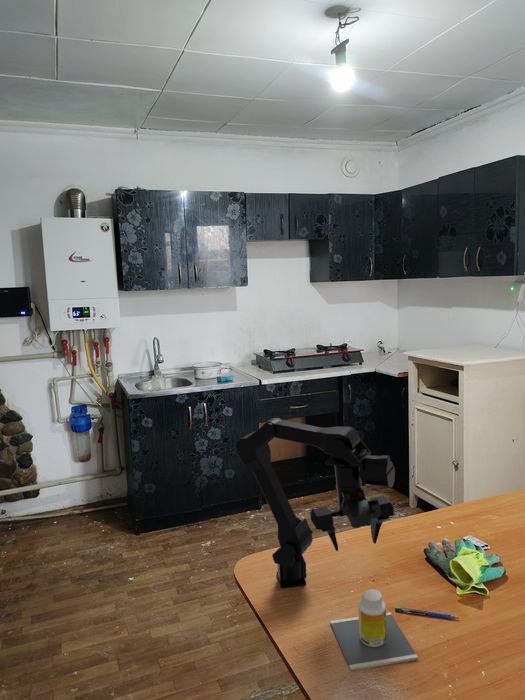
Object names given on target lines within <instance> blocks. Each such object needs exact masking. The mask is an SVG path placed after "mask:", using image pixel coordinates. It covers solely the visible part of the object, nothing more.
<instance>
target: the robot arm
mask: <svg viewBox="0 0 525 700" xmlns="http://www.w3.org/2000/svg"><path fill="white" fill-rule="evenodd" d="M274 438H275V439H280V440H285V441H289V442H294V443H298V444H303V445H308V446H312V447H316V448H318V449H320V450H322V451H323V452H324V453H325V454H328V455H329V458H328V459H327V460H326V461H325V462H324V463H325V465H326V466H333V467H334V474H335V483H336V484H335V489H336V492H337V494H336V495H337V506H338V509H334V510H329V508H328V507H327V506H320V507H316V508H312V509H311V510H310V513H309V515H310V521H311V523H312V524H313V525H314V528H316V530H319V531H320V530H321V532H327V534H328V536H329V539H330V541H331V543H332V545H333V548H334V549H335V551H336V552H339V544H338V540H337V535H336V527H335V526H334V520H337V519H343V518H347V519H348V521H349V523H350V525H351V527H352V528H354V529H359V528H361V527H366V526H368V527H369V526H370V532H371V533H370V535H371V540H372V543H373V544H374V545H375V544H376V543H377V540H378V538H379V534H380V530H381V527H382V524H383V523H384V522H386V520H390V517H392V516H395V514H396V513H395V512H396V511H395V506H394V504H393V503H392V501H390V500H389V499H388V498H387V497H386V496H385V495H383V494H382V495H379V496H374V497H370V498H369V499H367V498H366V495H365V490H364V489H363V484H364V485H365V486H371V487H381V488H382V487H383V488H392V487H393V486H394V483H395V478H396V477H395V476H396V469H395V466H394V463H393V462H392V461H391V456H390V455H384V454H383V455H372V454H371V453H372V452H371V450H370V449H369V448H368V446H367V445H366V444H365V443H364V441H363V440H362V439H361V436H360V434H359V433H358V431H357V430H356V429H355V428H353V427H352V426H330V427H320V426H315V425H311V424H305V423H299V422H295V421H289V420H285V419H282V418H280V417H279V418H278V417H273V418H270V419H269V420H267V421H266V422H264V423H263V425H261V427H259V428H258V429H257V430H256V431H252V432H251V433H248V434H247V435H245V436H244V437H241V438H240V439H239V440H238V441H237V442H236V446H235V453H236V455H237V456H238V458H239V460H240V461H241V462H242V464H243V466H245V467H246V468H247V469H249V470H250V471H251V472H252V473H253V474H254V476H255V479H256V481H257V483H258V485H259V488H260V489H261V492H262V494H263V496H264V498H265V501H266V503H267V504H268V507H269V509H270V511H271V514H272V516H273V518H274V519H275V522H276V524H277V540H278V543H279V547H278V549H276V551H274V553H272V554H271V557H272V560H273V562H274V564H277V571H276V576H277V580H278V582H279V586H280V588H282V589H285V588H291V587H292V588H293V587H297V586H305V585H307V581H306V579H307V562H306V560H305V558H304V556H303V555H304V553H305V552H306V551H307V550H308V549H309V548H310V547H311V545H312V543H313V541H314V539H313V533H314V532H313V530H312V529H311V528H310V526H309V523H308V520H307V519H306V518H303V519H300V518H299V517H298V516H296V514H295V512H294V511H293V508H292V506H291V504H290V502H289V500H288V498H287V495H286V493H285V490H284V489H283V487H282V485H281V482H280V480H279V478H278V476H277V474H276V472H275V469H274V467H273V465H272V458H271V457H272V453H271V447H270V444H269V442H271V441H273V439H274ZM354 452H356V453H354Z"/></svg>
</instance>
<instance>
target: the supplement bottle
mask: <svg viewBox="0 0 525 700" xmlns="http://www.w3.org/2000/svg"><path fill="white" fill-rule="evenodd" d="M382 595H383V594H382V593H381V592H380V591H378V590H377V589H373V588H370V589H366V590H364V591H363V592H362V595H361V596H362V598H361V599H360V600H359V602H358V617H359V637H360V640H361V641H362V642H363V643H364V644H365V645H367V646H369V647H379V646H381V645H383V644H384V643H385V641H386V613H387V607H386V603H385V601H384V600H383V597H382Z"/></svg>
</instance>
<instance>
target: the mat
mask: <svg viewBox="0 0 525 700" xmlns="http://www.w3.org/2000/svg"><path fill="white" fill-rule="evenodd" d="M329 622H330V623H329V624H330V626H331V628H332V631H333V634H334V635H335V638H336V640H337V642H338V644H339V647H340V650H341V652H342V654H343V656H344V659H345V661H346V663H347V665H348V668H349V670H350V671H351V672H352V671H353V672H354V671H358V670H364V669H370V668H374V667H375V668H376V667H382V666H388V665H389V666H390V665H394V664H401V663H405V662H411V661H418V660H419V656H418V654H417V653H416V652H415V650H414V649H413V647H412V646H411V644H410V642H409V640H408V638H407V637H406V636H405V634H404V632H403V630H402V629H401V627H400V626H399V625H398V622H397V621H396V620H395V618H394V616H393V615H392V612H390V611H389V612H386V641H385V643H384V644H383V645H381V646H379V647H369V646H367V645H365V644H364V643H363V642H362V641H361V640H360V637H359V616H355V617H349V618H342V619H336V620H330V621H329Z"/></svg>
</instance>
